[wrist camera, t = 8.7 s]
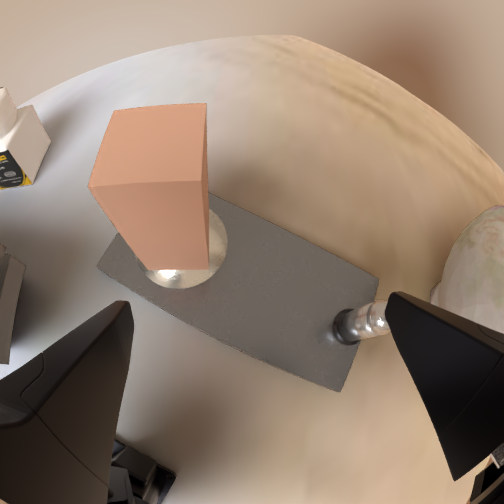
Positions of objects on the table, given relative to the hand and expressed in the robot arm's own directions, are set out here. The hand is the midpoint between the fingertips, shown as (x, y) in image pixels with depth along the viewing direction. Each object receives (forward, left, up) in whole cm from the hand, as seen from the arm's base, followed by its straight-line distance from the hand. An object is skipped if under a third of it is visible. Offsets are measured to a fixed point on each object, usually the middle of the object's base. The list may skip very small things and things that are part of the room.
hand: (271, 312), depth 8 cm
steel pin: (+5, -8, -13) cm, 16 cm away
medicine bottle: (+4, +33, -14) cm, 36 cm away
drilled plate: (+5, +2, -14) cm, 15 cm away
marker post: (+5, +8, -12) cm, 15 cm away
